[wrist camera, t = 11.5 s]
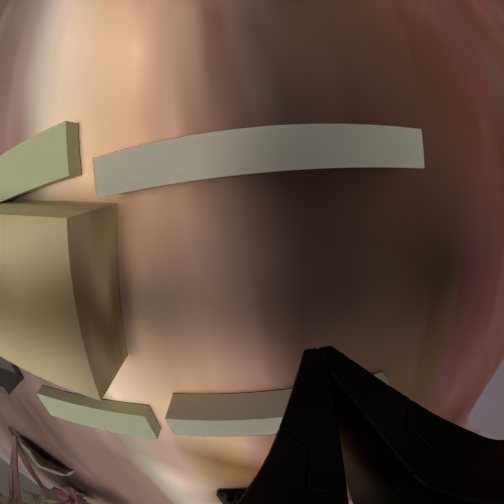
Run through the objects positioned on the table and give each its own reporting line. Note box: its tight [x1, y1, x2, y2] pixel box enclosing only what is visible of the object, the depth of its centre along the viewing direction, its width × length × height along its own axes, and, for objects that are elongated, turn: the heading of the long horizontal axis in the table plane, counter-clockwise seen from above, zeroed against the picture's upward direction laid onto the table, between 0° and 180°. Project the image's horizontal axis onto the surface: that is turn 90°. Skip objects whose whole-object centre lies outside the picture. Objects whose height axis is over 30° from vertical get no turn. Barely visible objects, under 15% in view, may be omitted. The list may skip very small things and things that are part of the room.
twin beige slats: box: [92, 124, 425, 436], centre depth 11 cm, size 14×12×2 cm
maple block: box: [0, 201, 128, 401], centre depth 10 cm, size 8×8×4 cm
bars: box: [0, 121, 161, 439], centre depth 12 cm, size 18×10×1 cm, turn 6°
